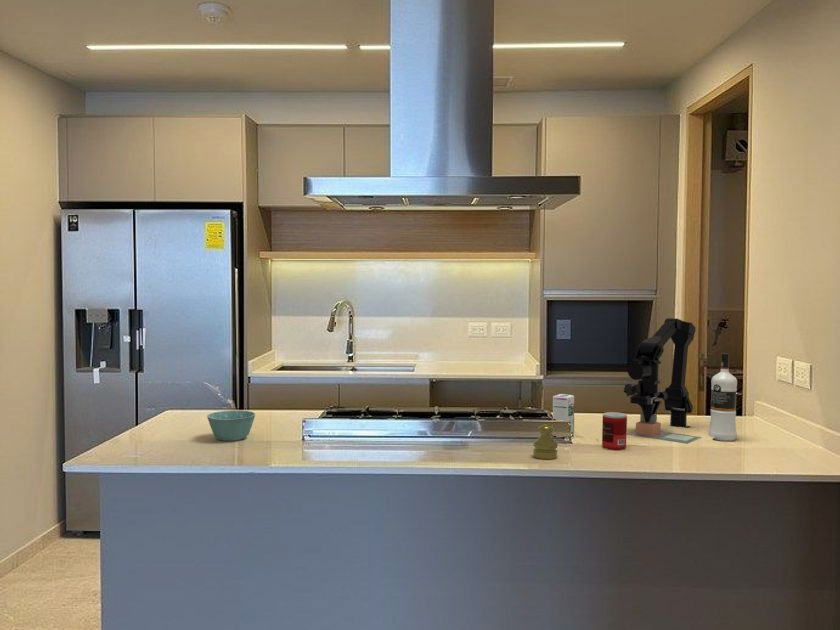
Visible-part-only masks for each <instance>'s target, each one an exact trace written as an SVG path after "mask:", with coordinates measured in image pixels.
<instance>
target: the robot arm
mask: <svg viewBox="0 0 840 630" xmlns="http://www.w3.org/2000/svg"><path fill="white" fill-rule="evenodd" d="M696 329H697V328H696V325H694V324H693V323H692V322H691V321H689V322H688V321H684V320H681V319H679V318H674V317H673V318H672V317H671V318H670V317H668V318H665V320H664V323H663V324H662V325H661V326H660V327H659V329H658V330H657V331H656V332H655V333H654V334H653V335H652V336H651V337H648V338H646V339H644V340H642V341H641V342H640V344H639V345H638V348H637V350H636V353H635V355H634V357H633V363H632V364H630V365H629V367H628V368H627V374H628V376H629V378H631V379H632V380H636V381H637V384H634V385H632V384H631V383H627V384H625V385H624V388H623V393H625V394H626V397H630V398H629V399H630V401H629V403H630V404H636V405H638V406H639V407H640V408H641V410H642V411H641V412H642V413H643V414H644V418H645V421H646V422H649V420H650V418H651V415H652V414H654V415H656V412H657V411H658V410H659V408H660V405H661V403H664V409H665V410H664V411H670V418H669V419H670V420H669V421H670V423H669V426H671V427H676V428H684V429H688V428H689V429H690V427H691V426H690V425H687V420H688V419H687V416H688V414H692V412H693V408H694V406H693V404H692V402H691V401H692V400H690V392H689V390H688V388H687V386H686V374H687V365H688V354H689V353H688V350H689V346H690V345H691V343H692V342H693V341H694V338H695V334H696ZM670 339H671V341H672V343H673V344H674V348H673V356H672V357H673V359H672V372H671V382H670V384H669V386H667V387H665V389H664V390H659V385H660V384H661V380H660V379H659V365H661V364H662V361H661V360H660V358H661V357H662V355H663V353H664V352H665V350H664V346H665V345H666V344H667V342H668V341H669V340H670ZM659 399H662V400H661V401H660V400H659ZM662 401H663V402H662Z"/></svg>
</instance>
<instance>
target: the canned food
mask: <svg viewBox="0 0 840 630" xmlns="http://www.w3.org/2000/svg"><path fill="white" fill-rule="evenodd" d="M601 428H602V430H601V431H602V432H601V433H602V434H601V435H602V436H601V447H602V448H604V449H606V450H610V451H611V450H612V451H621V450H622V449H623V450H625V449H626V448H627V436H628V435H627V433H628V429H627V428H628V414H626V413H624V412H623V413H622V412H615V411H609V412H608V411H607V412H604V413H602V427H601ZM623 450H622V451H623Z"/></svg>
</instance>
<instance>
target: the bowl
mask: <svg viewBox="0 0 840 630" xmlns="http://www.w3.org/2000/svg"><path fill="white" fill-rule="evenodd" d="M255 417H256V412H254V411H251V410H250V411H249V410H237V409H235V410H221V411H216V412H211V413H208V414H207V416H206V418H207V420H208V423H209V426H210V428H211V432H212V433H213V436H214V437H215V439H217V440H218V441H222V442H238V441H242V440H245V439H246V438H247V437H248V436H249V435H250V431H251V429H252V426H253V423H254V420H255Z"/></svg>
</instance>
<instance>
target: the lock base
mask: <svg viewBox="0 0 840 630" xmlns="http://www.w3.org/2000/svg"><path fill="white" fill-rule="evenodd" d="M627 436H635V437H641V438H647V439H653V440H659V441H660V440H661V441H667V442H674V443H679V444H686V445H689V444H690V443H692V442H695V441H697V440H699V439H702V438H703V437H702V436H696V435H689V434H685V433H684V434H683V433H676V432H668V431H661V433H660V434H658V435H655V436H649V435H642V434H636V429H635V430H633V431H630V432H627Z"/></svg>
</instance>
